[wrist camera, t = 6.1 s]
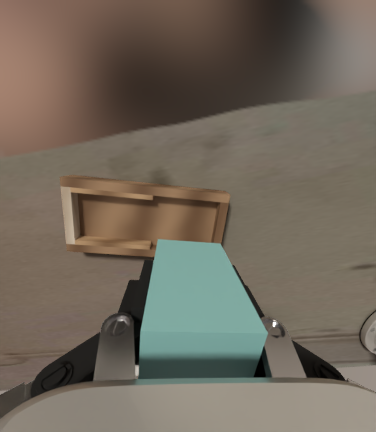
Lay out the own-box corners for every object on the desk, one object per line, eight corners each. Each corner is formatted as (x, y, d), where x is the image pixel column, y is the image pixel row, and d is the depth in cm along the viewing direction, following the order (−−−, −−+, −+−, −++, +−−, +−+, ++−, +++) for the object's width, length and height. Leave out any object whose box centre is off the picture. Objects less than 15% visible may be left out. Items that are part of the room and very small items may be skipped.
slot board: (225, 191, 24) (230, 194, 21) (214, 252, 26) (217, 261, 24) (71, 174, 22) (59, 177, 19) (77, 242, 24) (67, 251, 22)
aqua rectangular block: (220, 243, 13) (267, 333, 6) (211, 293, 14) (242, 410, 8) (158, 239, 13) (140, 331, 6) (154, 291, 14) (136, 413, 7)
